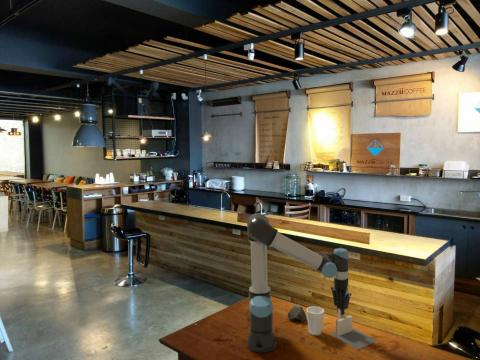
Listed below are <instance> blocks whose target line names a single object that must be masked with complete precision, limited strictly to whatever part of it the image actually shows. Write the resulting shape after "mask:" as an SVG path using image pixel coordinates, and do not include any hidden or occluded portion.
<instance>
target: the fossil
mask: <svg viewBox="0 0 480 360" xmlns="http://www.w3.org/2000/svg"><path fill="white" fill-rule="evenodd" d="M287 318H288V320H289V321H294V320H299V321H300V322H305V321H308V320H307V315H306V312H305V310H304V309H303V307H302V305H300V304H299V303H297V304H296V305H292V308H291V309H290V310H289V311H288V313H287Z"/></svg>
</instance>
